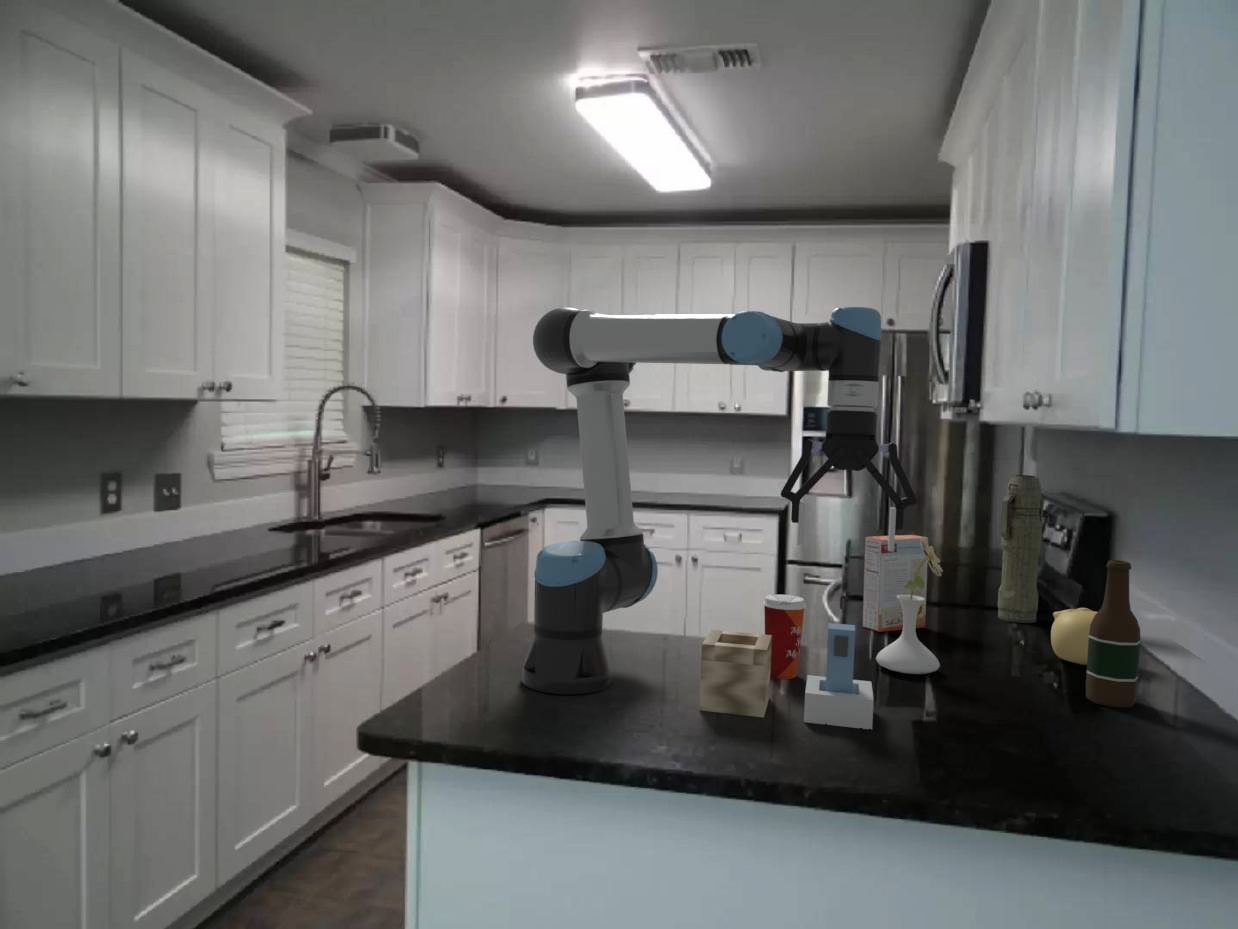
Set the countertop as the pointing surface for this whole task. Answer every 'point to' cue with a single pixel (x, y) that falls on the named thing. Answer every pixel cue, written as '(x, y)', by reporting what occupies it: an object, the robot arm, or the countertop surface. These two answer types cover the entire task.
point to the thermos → (1020, 549)
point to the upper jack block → (735, 673)
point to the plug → (840, 658)
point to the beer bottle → (1114, 644)
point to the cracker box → (891, 581)
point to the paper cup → (784, 633)
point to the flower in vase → (912, 628)
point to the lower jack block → (838, 704)
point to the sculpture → (1072, 634)
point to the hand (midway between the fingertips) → (845, 547)
